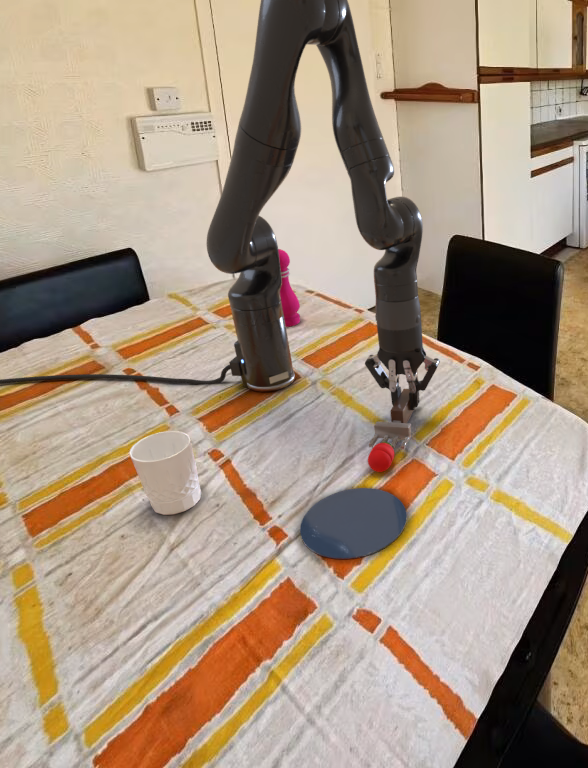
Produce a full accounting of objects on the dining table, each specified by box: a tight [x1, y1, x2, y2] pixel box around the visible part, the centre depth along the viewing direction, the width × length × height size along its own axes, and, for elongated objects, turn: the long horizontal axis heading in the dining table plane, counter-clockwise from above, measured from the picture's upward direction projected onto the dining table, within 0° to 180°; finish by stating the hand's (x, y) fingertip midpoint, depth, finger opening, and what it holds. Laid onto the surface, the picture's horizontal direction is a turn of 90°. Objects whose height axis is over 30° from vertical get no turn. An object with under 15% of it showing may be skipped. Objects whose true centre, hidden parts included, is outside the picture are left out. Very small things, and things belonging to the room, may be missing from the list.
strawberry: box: [367, 441, 395, 473], centre depth 100 cm, size 4×5×4 cm
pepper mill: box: [278, 248, 301, 328], centre depth 150 cm, size 7×7×20 cm
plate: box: [299, 487, 408, 560], centre depth 89 cm, size 15×15×1 cm
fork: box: [368, 388, 415, 451], centre depth 109 cm, size 16×6×4 cm, turn 173°
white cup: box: [129, 430, 202, 516], centre depth 91 cm, size 8×8×10 cm
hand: (406, 407), depth 114 cm, fingers closed on fork, 2 cm apart
